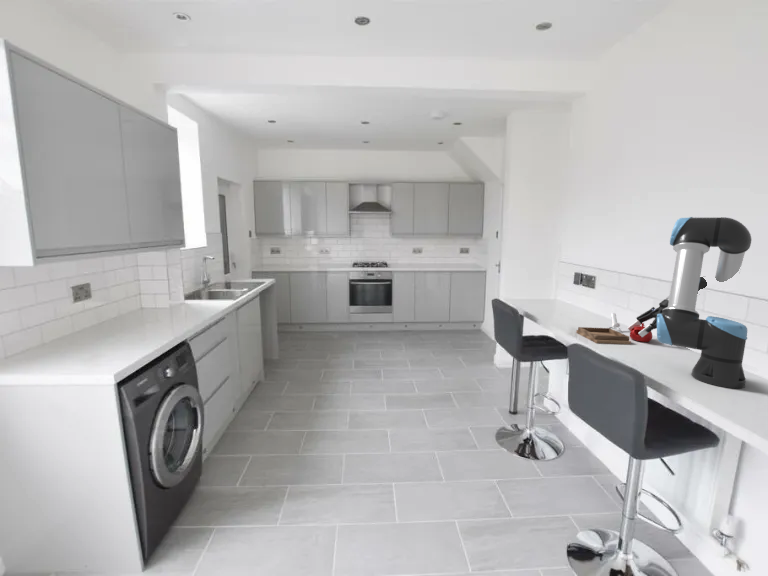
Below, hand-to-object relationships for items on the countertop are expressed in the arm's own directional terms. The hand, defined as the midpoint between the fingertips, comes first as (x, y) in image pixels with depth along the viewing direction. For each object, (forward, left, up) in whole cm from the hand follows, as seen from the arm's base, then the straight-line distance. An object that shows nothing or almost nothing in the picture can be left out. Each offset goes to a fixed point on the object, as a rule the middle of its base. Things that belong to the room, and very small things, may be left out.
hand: (634, 332), depth 195 cm
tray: (-4, +15, -4) cm, 16 cm away
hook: (+18, +6, -4) cm, 19 cm away
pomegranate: (+1, -3, -4) cm, 5 cm away
